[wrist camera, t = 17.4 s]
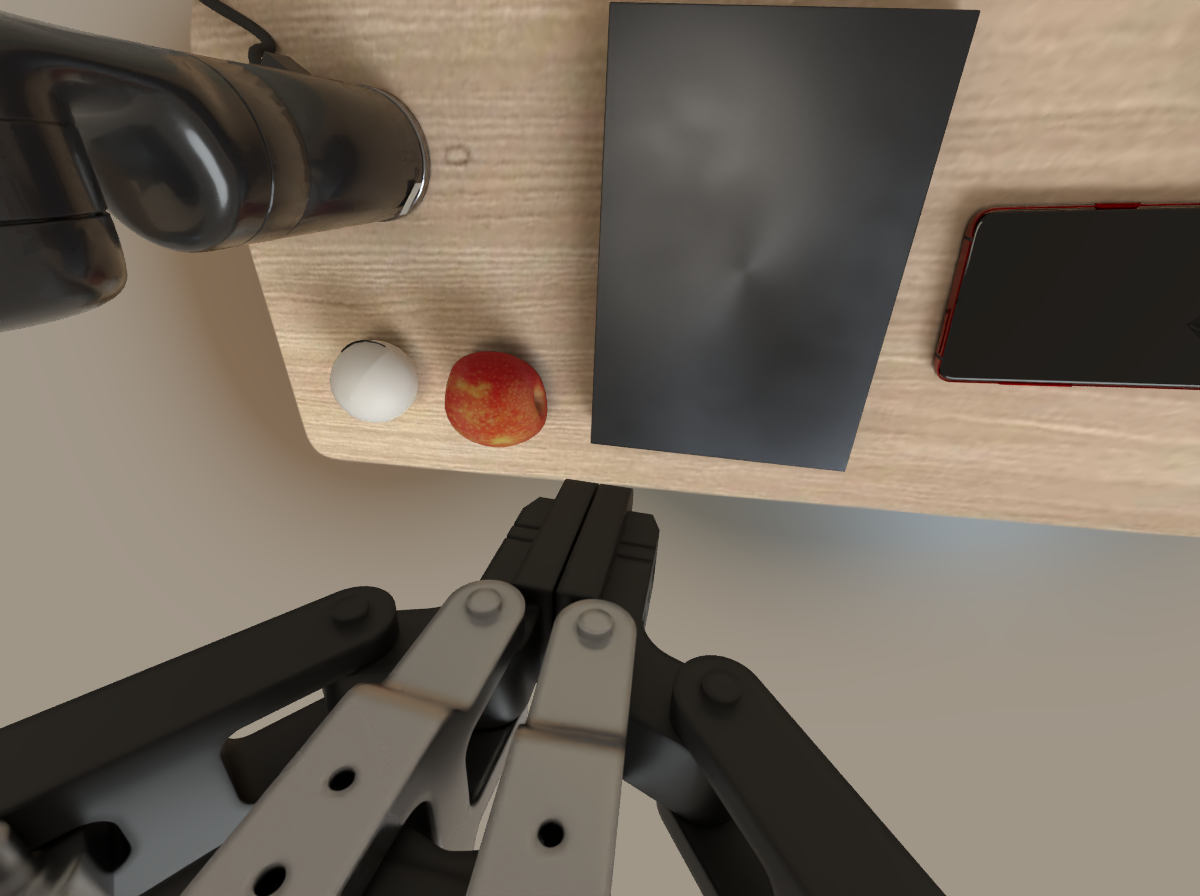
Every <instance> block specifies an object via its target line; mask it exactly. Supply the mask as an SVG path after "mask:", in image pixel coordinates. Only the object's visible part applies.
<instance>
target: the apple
mask: <svg viewBox="0 0 1200 896" xmlns="http://www.w3.org/2000/svg"><path fill="white" fill-rule="evenodd" d="M446 386H447V387H446V394H445V410H446V413H447V416H448V419H449V421H450V423H451V424H452V426H453V427H454V428H455V430H456V431H458V432H459V433H460V434H461V435H462V436H464V437H465V438H467V439H469V440H471V441H473V442H475V443H478V444H481V445H485V446H490V447H507V446H513V445H516V444H519V443H522V442H524V441H527V440H529V439H530V438H532V437H533V436H535V435H536V434H537V433H538V432H539V431H540V430H541V429H542V427H543V426H544V424H545V421H546V417H547V399H546V392H545V389H544V386H543V382H542V380H541V377H540V376H539V374H538V373H537V372H536V371H535V370H534V369H533V368H532V367H531V366H530V365H529V364H528V363H526V362H525V361H523V360H521V359H519V358H517V357H515V356H513V355H510V354H507V353H502V352H494V351H480V352H475V353H472V354H469V355H466V356H464V357H462V358H461V359H459V360H458V361H457V362H456V363H455V365H454V366H453V368H452V370H451V372H450V375H449V378H448V381H447V385H446Z"/></svg>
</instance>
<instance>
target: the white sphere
mask: <svg viewBox="0 0 1200 896" xmlns="http://www.w3.org/2000/svg"><path fill="white" fill-rule="evenodd" d="M330 385H331V390H332V393H333V395H334V397H335V400H336V401H337V402H338V404H339V405H340V406H341V408H342V409H343V410H345V411H346V412H347V413H348V414H349V415H351V416H353V417H355V418H357V419H359V420H362V421H367V422H375V423H379V422H388V421H390V420H392V419H395V418H397V417H398V416H400V415H402V414H404V413H405V412H406V411H407V409H408V408H409V407H410V406H411V404H412V403H413V402H414V400H415V398H416V395H417V392H418V374H417V371H416V368H415V365H414V364H413V362H412V361H411V359H410V358H409V356H408V355H407V354H406V353H404V352H403V351H402V350H401V349H400V348H398V347H396V346H394V345H392V344H389V343H387V342H383V341H377V340H369V341H368V340H360V341H355V342H353V343H350V344H349V345H347V346H346V347H345V348H344V349H343V350H342V351H341V353H340V354H339V356H338V357H337V359H336V360H335V362H334V364H333V367H332V370H331V375H330ZM321 386H322V385H321ZM315 388H316V387H315Z"/></svg>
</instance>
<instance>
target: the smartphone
mask: <svg viewBox="0 0 1200 896" xmlns="http://www.w3.org/2000/svg"><path fill="white" fill-rule="evenodd" d="M1169 205H1200V203H1157V204H1141V202H1129V203H1095V205H1066V206H1021V207H992V208H987V209H984V210H982V211H980V212H979V213H977V214H976V215H975V216H974V217H973V218H972V220H971V221H970V223H969V225H968V228H967V230H966V234H965V238H964V241H963V245H962V249H961V253H960V257H959V261H958V265H957V269H956V273H955V278H954V282H953V286H952V290H951V294H950V298H949V302H948V306H947V310H946V314H945V318H944V322H943V326H942V330H941V334H940V338H939V342H938V346H937V350H936V355H935V359H934V370H935V373H936V374H937V376H938V377H939V378H940V379H942V380H944V381H947V382H962V383H995V384H1001V385H1030V386H1035V385H1036V386H1061V387H1072V386H1094V387H1126V388H1156V389H1187V390H1200V206H1197V207H1149V208H1138V207H1139V206H1169ZM1078 207H1094V208H1095V209H1055V210H1009V211H992V210H998V209H1033V208H1078ZM940 375H941V376H940Z"/></svg>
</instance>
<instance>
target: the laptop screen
mask: <svg viewBox="0 0 1200 896" xmlns="http://www.w3.org/2000/svg"><path fill="white" fill-rule="evenodd" d="M979 14H980V10H954V9H907V8H861V7H815V6H768V5H722V4H676V3H630V2H610V5H609V28H608V51H607V74H606V98H605V121H604V144H603V168H602V191H601V214H600V238H599V261H598V284H597V308H596V331H595V354H594V377H593V401H592V424H591V443H592V444H601V445H610V446H619V447H628V448H637V449H646V450H655V451H664V452H673V453H682V454H691V455H700V456H709V457H718V458H727V459H735V460H744V461H753V462H762V463H771V464H780V465H789V466H798V467H807V468H816V469H825V470H834V471H843V472H845V470H846V467H847V463H848V460H849V456H850V453H851V450H852V446H853V443H854V439H855V436H856V433H857V429H858V426H859V422H860V419H861V416H862V412H863V409H864V405H865V402H866V399H867V395H868V392H869V388H870V385H871V382H872V378H873V375H874V371H875V368H876V365H877V361H878V358H879V354H880V351H881V348H882V344H883V341H884V337H885V334H886V331H887V327H888V324H889V320H890V317H891V314H892V310H893V307H894V303H895V300H896V297H897V293H898V290H899V286H900V283H901V280H902V276H903V273H904V269H905V266H906V263H907V259H908V256H909V252H910V249H911V246H912V242H913V239H914V235H915V232H916V229H917V225H918V222H919V218H920V215H921V212H922V208H923V205H924V201H925V198H926V195H927V191H928V188H929V184H930V181H931V178H932V174H933V171H934V167H935V164H936V161H937V157H938V154H939V150H940V147H941V144H942V140H943V137H944V133H945V130H946V127H947V123H948V120H949V116H950V113H951V110H952V106H953V103H954V99H955V96H956V93H957V89H958V86H959V82H960V79H961V76H962V72H963V69H964V65H965V62H966V59H967V55H968V52H969V48H970V45H971V42H972V38H973V35H974V31H975V28H976V25H977V21H978V18H979Z"/></svg>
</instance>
